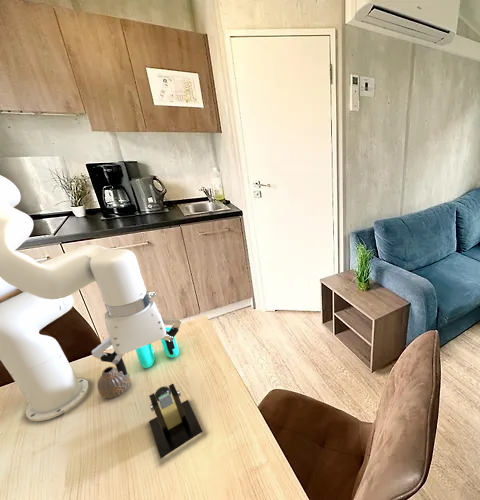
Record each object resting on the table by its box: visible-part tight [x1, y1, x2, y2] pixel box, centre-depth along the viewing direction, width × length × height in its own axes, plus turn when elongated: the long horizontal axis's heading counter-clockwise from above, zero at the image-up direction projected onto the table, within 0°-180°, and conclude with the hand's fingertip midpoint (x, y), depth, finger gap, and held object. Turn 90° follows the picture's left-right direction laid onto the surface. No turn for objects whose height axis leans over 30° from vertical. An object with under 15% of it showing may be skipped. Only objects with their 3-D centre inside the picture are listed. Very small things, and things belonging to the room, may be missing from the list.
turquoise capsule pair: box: [135, 326, 180, 369], centre depth 90 cm, size 10×10×10 cm
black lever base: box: [148, 383, 203, 460], centre depth 68 cm, size 12×9×12 cm
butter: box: [160, 401, 182, 430], centre depth 71 cm, size 5×4×3 cm
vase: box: [96, 366, 131, 400], centre depth 78 cm, size 7×7×9 cm
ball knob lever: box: [154, 386, 174, 409], centre depth 70 cm, size 13×4×4 cm
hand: (148, 361), depth 70 cm, fingers open, 9 cm apart
